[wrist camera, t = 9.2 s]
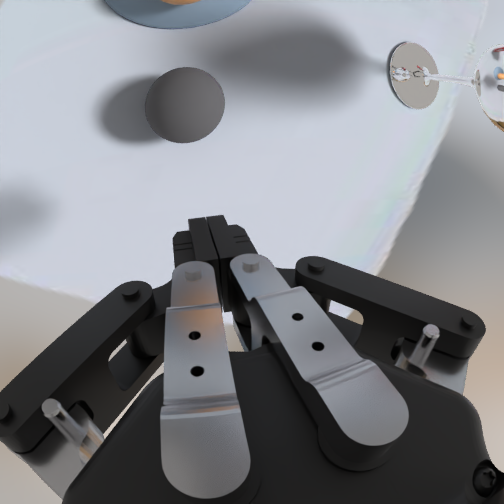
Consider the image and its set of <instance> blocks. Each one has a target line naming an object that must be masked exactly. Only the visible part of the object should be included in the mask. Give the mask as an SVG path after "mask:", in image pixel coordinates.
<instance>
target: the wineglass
mask: <svg viewBox="0 0 504 504" xmlns="http://www.w3.org/2000/svg"><path fill="white" fill-rule="evenodd" d="M390 78H391V82H392V85H393V88H394V90H395V92H396V94H397V96H398V97H399V98H400V100H401V101H402V102H403V103H404V104H406V105H407V106H408V107H410V108H413V109H424V108H426V107H428V106H430V105H431V104H432V102H433V101H434V100H435V98H436V96H437V93H438V88H439V81H443V82H451V83H458V84H463V85H467V86H470V87H473V88H475V92H476V95H477V98H478V100H479V102H480V105H481V106H482V109H483V110H484V112H485V114H486V115H487V116H488V117H489V119H490V120H491V121H492V122H493V124H494V125H495V126H497V127H498V128H499V129H500V130H502V131H503V132H504V44H499V45H496V46H493V47H491V48H489V49H488V50H487V51H486V52H485V53H483V54H482V56H481V57H480V59H479V61H478V63H477V65H476V68H475V72H474V77H459V76H450V75H440V74H438V69H437V66H436V64H435V61H434V59H433V58H432V56H431V55H430V53H429V52H428V51H427V50H426V49H425V48H424V47H422V46H421V45H419V44H416V43H412V42H407V43H403V44H401V45H400V46H398V47H397V48H396V50H395V51H394V52H393V55H392V57H391V61H390Z"/></svg>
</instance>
